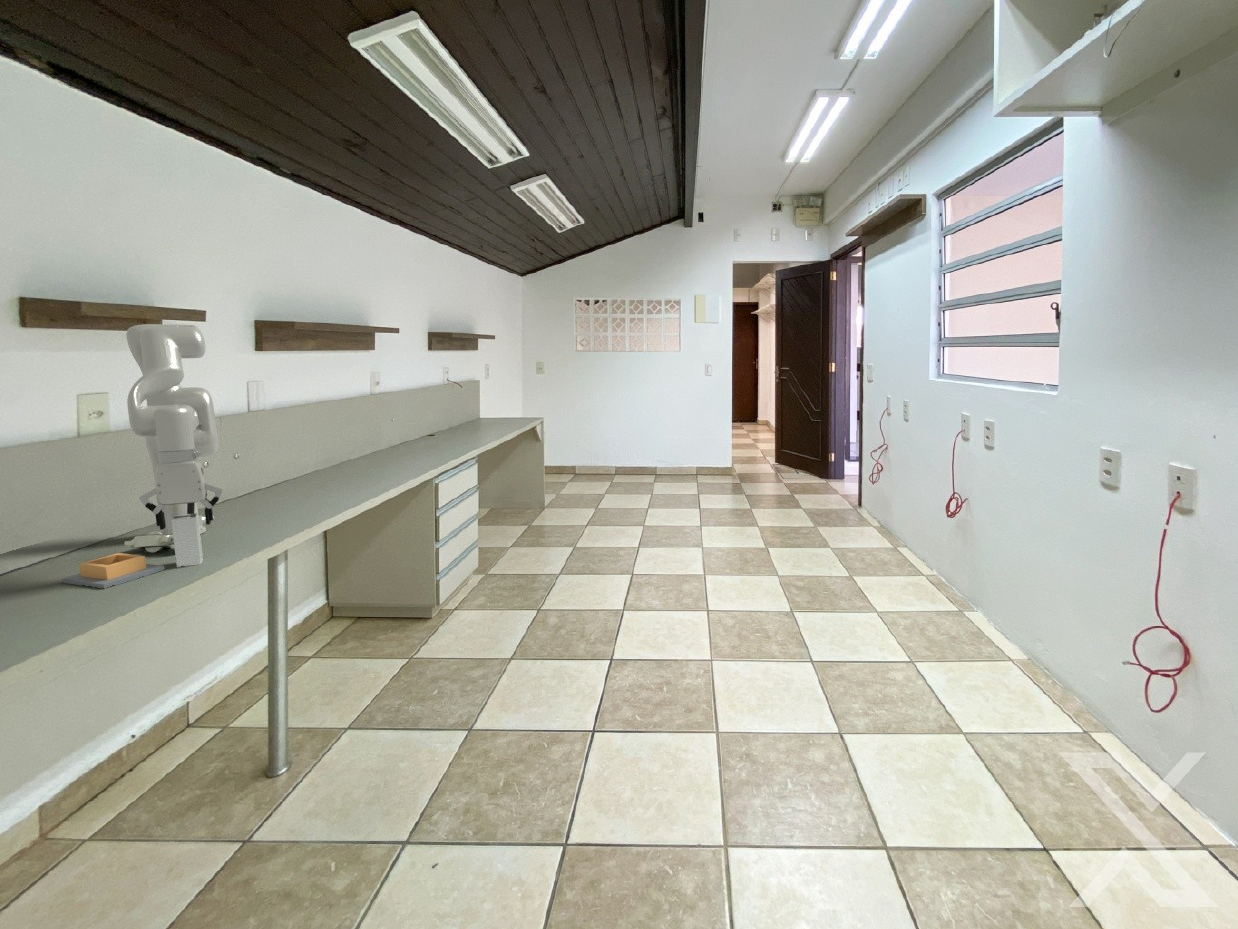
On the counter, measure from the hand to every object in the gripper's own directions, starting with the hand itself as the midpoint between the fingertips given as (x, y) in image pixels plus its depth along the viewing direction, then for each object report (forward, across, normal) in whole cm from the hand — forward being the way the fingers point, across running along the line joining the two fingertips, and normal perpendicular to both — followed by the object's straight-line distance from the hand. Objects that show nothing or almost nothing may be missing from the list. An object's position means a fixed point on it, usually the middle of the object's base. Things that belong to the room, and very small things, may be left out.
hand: (186, 526), depth 167 cm
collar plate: (+10, +15, +3) cm, 18 cm away
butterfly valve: (+10, +8, -18) cm, 22 cm away
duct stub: (+10, 0, -1) cm, 10 cm away
